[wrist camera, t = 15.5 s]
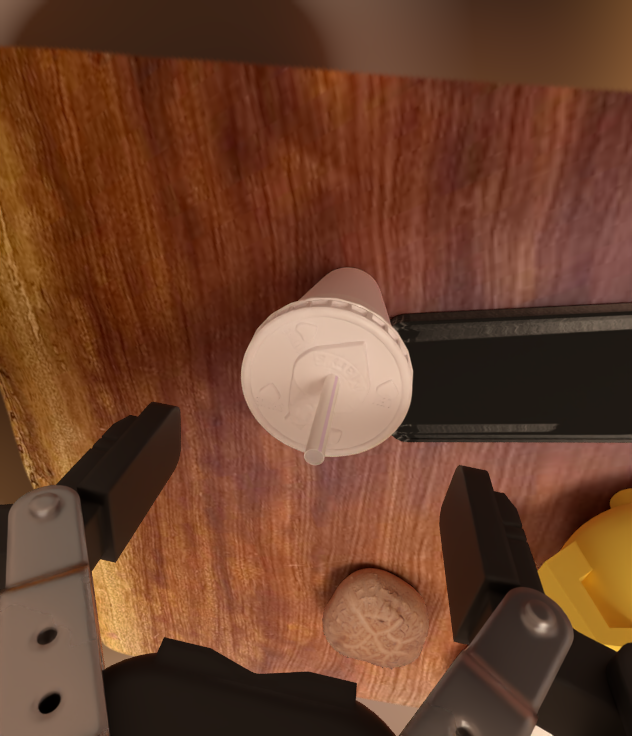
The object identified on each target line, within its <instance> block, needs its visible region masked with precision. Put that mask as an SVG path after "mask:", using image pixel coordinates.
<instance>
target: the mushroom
mask: <svg viewBox="0 0 632 736" xmlns="http://www.w3.org/2000/svg"><path fill="white" fill-rule="evenodd" d="M322 620H323V632H324V635H325V636H326V639H327V641H328V642H329V643H330V645H331V646H332V647H333V648H334V650H336V651H337V652H339V653H340V654H341V655H343V656H347V658H354V659H357V660H361V661H366V662H368V663H371V664H373V665H376V666H380V667H382V668H383V667H386V668H390V669H393V668H395V667H401V666H405V665H407V664H410V663H412V662H413V661H415V660H416V659H417V658H418V657H419V655H420V653H421V651H422V648H423V645H424V642H425V639H426V637H427V635H428V629H429V618H428V612H427V608H426V604H425V603H424V600H423V599H422V597H421V596H420V594H419V593H418V592H417V591H416V590H415V589H414V588H413V587H412V586H410V585H409V584H408V583H406V582H405V581H403V580H401V579H400V578H398V577H397V576H395V575H393V574H391V573H389V572H387V571H384V570H379V569H373V568H367V569H366V568H364V569H362V570H358V571H355V572H353V573H352V574H350V575H349V576H348V577H347V578H346V579H344V580H343V581H342V582H341V583H340V585H339V586H338V587H337V588H336V590H335V592H334V594H333V596H332V598H331V599H330V600H329V602H328V603H327V605H326V607H325V609H324V613H323V619H322Z"/></svg>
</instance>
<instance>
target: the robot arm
mask: <svg viewBox="0 0 632 736" xmlns="http://www.w3.org/2000/svg"><path fill="white" fill-rule="evenodd" d="M180 451H181V418H180V409H179V407H177V406H172V405H167V404H162V403H157V402H151V403H150V404H149V405H148V406H147V407H146V408H145V409H144V411H143V412H142V413H141V414H140V415H139V416H138V417H137V416H133V415H129V416H127V417H126V418H124V419H122V420H120V421H118V422H116V423H114V424H113V425H112V426H111V427H110V428H109V429H108V430H107V431H106V432H105V433H104V435H103V436H102V438H100V439H99V440H98V441H97V442H96V443H95V444H94V445H93V448H92V449H91V448H90V449H89V450H88V451H87V453H86V454H85V455H84V456H83V457H82V458H81V459H80V460H79V461H78V462H77V463H76V464H75V465H74V466H73V467H72V468H71V469H70V471H69V472H68V473H67V474H66V475H65V476H64V477H63V478H62V479H61V480H60V481H59V482H58V483H57V484H56V485H51V486H45V487H41V488H37V489H35V490H32V491H30V492H28V493H26V494H25V495H24V496H22V497H21V498H19V499H18V500H17V501H16V502H15V503H14V504H7V505H0V736H396V735H395V734H394V733H393V732H392V731H391V729H390V728H389V727H388V726H387V725H386V723H385V722H384V721H382V720H381V719H380V718H379V717H378V716H377V715H376V714H375V713H374V712H372V711H371V710H370V709H368V708H367V707H366V706H365V705H363V704H362V703H360V702H358V701H356V687H357V683H354V682H350V681H346V680H342V679H337V678H333V677H329V676H325V675H321V674H316V673H312V672H291V673H270V674H256V673H253V672H251V671H249V670H247V669H246V668H244V667H242V666H240V665H239V664H237V663H235V662H233V661H232V660H230V659H228V658H227V657H225V656H223V655H221V654H220V653H218V652H216V651H214V650H213V649H211V648H207V647H203V646H199V645H195V644H190V643H186V642H182V641H178V640H174V639H169V638H165V637H164V639H163V641H162V643H161V646H160V648H159V650H158V652H157V653H150V654H145V655H139V656H135V657H132V658H129V659H125V660H123V661H121V662H118V663H116V664H114V665H111V666H110V667H108V668H106V669H105V665H104V658H103V651H102V644H101V637H100V630H99V622H98V615H97V607H96V600H95V592H94V585H93V577H92V570H93V569H94V567H95V566H96V564H97V563H98V561H99V560H100V559H102V560H107V561H111V562H115V563H116V561H117V560H118V558H119V556H120V555H121V553H122V552H123V550H124V549H125V547H126V545H127V544H128V542H129V541H130V539H131V538H132V536H133V534H134V533H135V531H136V530H137V528H138V527H139V525H140V523H141V522H142V520H143V519H144V517H145V516H146V514H147V512H148V511H149V509H150V508H151V506H152V505H153V503H154V501H155V500H156V498H157V497H158V495H159V494H160V492H161V490H162V489H163V487H164V486H165V484H166V483H167V481H168V479H169V478H170V476H171V475H172V473H173V472H174V470H175V468H176V466H177V463H178V461H179V457H180ZM439 524H440V535H441V543H442V551H443V559H444V567H445V575H446V583H447V591H448V599H449V607H450V615H451V623H452V631H453V640H454V642H458V643H462V644H467V645H469V646H468V648H467V649H466V650H462V651H461V653H460V654H459V655H458V656H457V658H456V659H455V660H454V662H453V663H452V664H451V666H450V667H449V668H448V670H447V671H446V673H445V674H444V675H443V677H442V678H441V679H440V681H439V682H438V683H437V685H436V686H435V687H434V689H433V690H432V692H431V693H430V694H429V696H428V697H427V698H426V700H425V701H424V702H423V704H422V705H421V706H420V708H419V709H418V710H417V712H416V713H415V715H414V716H413V717H412V719H411V720H410V721H409V723H408V724H407V725H406V727H405V728H404V729H403V731H402V732H401V734H400V735H399V736H531V734H532V732H533V730H534V728H535V725H536V726H538V727H540V728H541V729H543V730H545V731H546V732H548V733H550V734H552V735H553V736H632V642H630V643H626V644H625V645H623V646H622V647H621V648H620V649H619V651H618V652H617V651H615V650H613V649H611V648H609V647H607V646H605V645H603V644H601V643H599V642H597V641H595V640H593V639H591V638H589V637H587V636H585V635H583V634H582V633H580V632H578V631H577V630H575V629H574V628H572V625H571V622H570V620H569V618H568V617H567V615H566V613H565V612H564V611H563V610H562V608H561V607H560V606H559V605H558V604H557V603H556V602H555V601H553V600H552V599H551V598H550V597H548V596H547V595H545V593H544V590H543V587H542V584H541V581H540V578H539V575H538V572H537V569H536V566H535V563H534V560H533V557H532V554H531V551H530V548H529V545H528V543H527V542H526V540H527V539H526V536H525V533H524V530H523V529H522V524H521V521H520V518H519V515H518V512H517V509H516V508H515V506H514V505H513V504H512V503H511V501H510V500H509V499H508V498H507V496H506V495H505V494H504V493H500V492H495V491H494V490H493V487H492V483H491V480H490V476H489V473H488V472H487V471H486V470H481V469H476V468H471V467H466V466H461V465H459V466H458V467H457V468H456V470H455V473H454V475H453V478H452V480H451V483H450V486H449V488H448V491H447V493H446V496H445V499H444V501H443V504H442V507H441V512H440V522H439Z"/></svg>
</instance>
